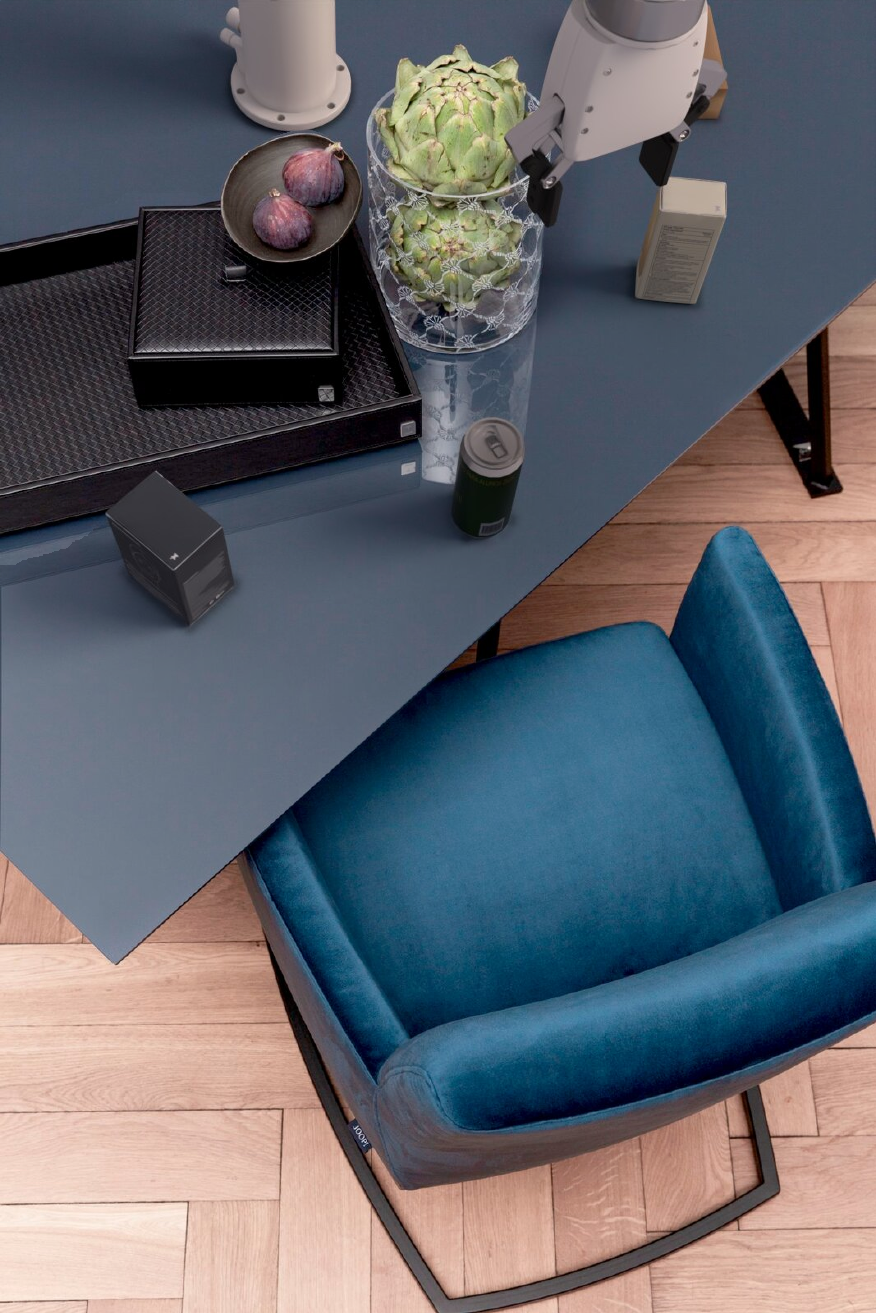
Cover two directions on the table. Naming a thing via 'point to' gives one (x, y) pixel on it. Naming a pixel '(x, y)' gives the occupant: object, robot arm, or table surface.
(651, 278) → the cosmetic box
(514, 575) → the table surface
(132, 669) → the table surface
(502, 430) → the beer can
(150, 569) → the box
